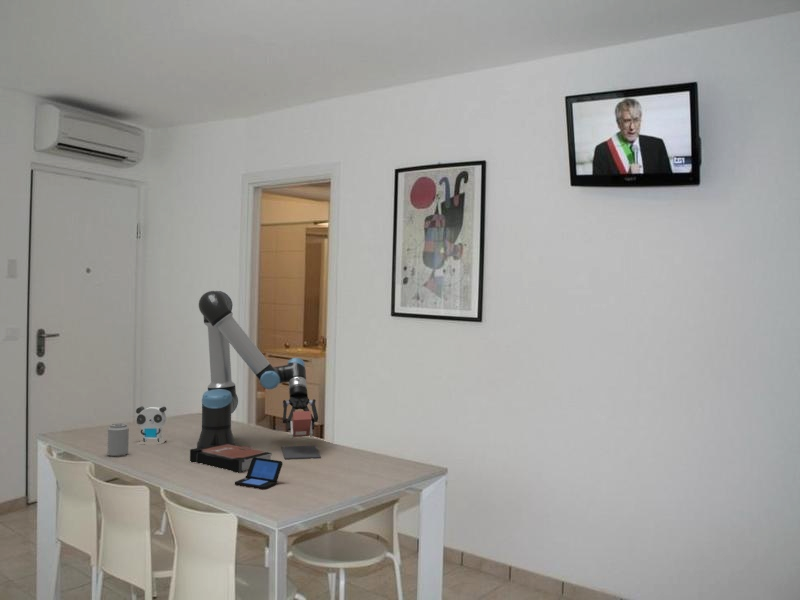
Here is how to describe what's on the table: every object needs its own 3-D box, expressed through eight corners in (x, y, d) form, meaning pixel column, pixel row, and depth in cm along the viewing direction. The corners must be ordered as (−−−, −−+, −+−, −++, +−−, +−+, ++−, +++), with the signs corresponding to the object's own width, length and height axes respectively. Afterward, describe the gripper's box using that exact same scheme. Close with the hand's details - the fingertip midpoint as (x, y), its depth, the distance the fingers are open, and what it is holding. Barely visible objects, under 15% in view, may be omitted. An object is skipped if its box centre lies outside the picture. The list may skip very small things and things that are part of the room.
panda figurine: (132, 445, 280) (132, 409, 280) (141, 439, 291) (142, 404, 291) (161, 445, 280) (161, 409, 280) (169, 439, 292) (170, 405, 292)
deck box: (293, 420, 267) (291, 437, 275) (311, 419, 269) (309, 436, 277) (293, 411, 270) (291, 428, 278) (310, 410, 272) (308, 427, 280)
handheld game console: (233, 485, 225) (233, 463, 225) (252, 478, 234) (253, 456, 234) (264, 490, 220) (264, 467, 220) (283, 482, 229) (283, 460, 229)
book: (273, 464, 255) (273, 451, 255) (238, 474, 240) (238, 460, 240) (225, 454, 269) (225, 442, 269) (189, 462, 254) (190, 449, 254)
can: (128, 452, 268) (129, 421, 268) (127, 456, 261) (128, 425, 260) (108, 453, 265) (108, 422, 265) (106, 457, 258) (107, 426, 258)
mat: (320, 458, 264) (321, 456, 264) (284, 459, 261) (284, 457, 261) (315, 446, 283) (315, 445, 283) (281, 448, 280) (281, 446, 280)
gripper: (274, 385, 282) (277, 431, 266) (322, 384, 286) (327, 429, 271) (274, 396, 287) (276, 442, 271) (320, 394, 292) (325, 440, 276)
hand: (301, 435), depth 271 cm, fingers closed on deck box, 7 cm apart
